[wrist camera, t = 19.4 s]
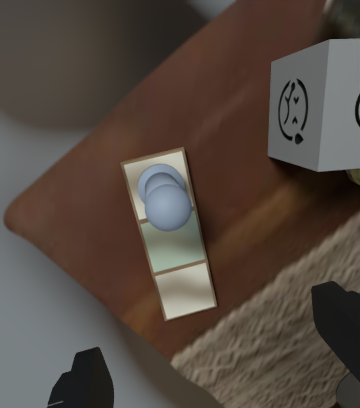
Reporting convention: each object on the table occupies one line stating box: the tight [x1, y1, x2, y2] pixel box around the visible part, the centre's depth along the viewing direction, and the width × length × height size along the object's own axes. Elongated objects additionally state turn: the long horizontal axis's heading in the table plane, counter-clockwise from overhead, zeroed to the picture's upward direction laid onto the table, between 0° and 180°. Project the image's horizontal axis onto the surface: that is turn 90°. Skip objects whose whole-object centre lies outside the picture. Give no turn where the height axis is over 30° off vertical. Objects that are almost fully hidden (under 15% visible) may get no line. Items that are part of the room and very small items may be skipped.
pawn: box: [138, 164, 192, 232], centre depth 28 cm, size 5×5×10 cm
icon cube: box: [268, 39, 360, 172], centre depth 29 cm, size 10×10×10 cm
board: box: [120, 147, 217, 321], centre depth 35 cm, size 21×7×1 cm, turn 12°
